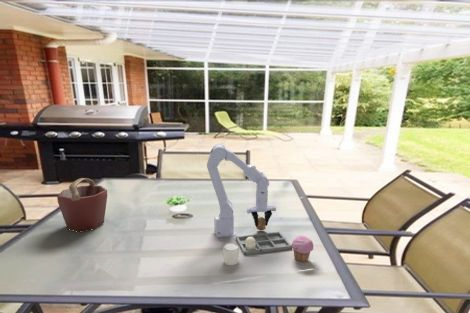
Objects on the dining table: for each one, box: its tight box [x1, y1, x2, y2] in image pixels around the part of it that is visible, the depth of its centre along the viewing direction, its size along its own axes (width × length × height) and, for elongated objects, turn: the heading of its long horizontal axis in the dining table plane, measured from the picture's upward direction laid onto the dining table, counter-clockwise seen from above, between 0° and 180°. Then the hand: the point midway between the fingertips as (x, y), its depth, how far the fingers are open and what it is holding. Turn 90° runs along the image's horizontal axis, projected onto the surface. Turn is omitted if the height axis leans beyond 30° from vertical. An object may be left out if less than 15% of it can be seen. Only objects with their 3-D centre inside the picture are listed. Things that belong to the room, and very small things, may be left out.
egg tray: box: [235, 231, 293, 256], centre depth 141 cm, size 22×15×2 cm
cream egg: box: [246, 237, 256, 251], centre depth 136 cm, size 4×4×6 cm
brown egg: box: [256, 216, 267, 231], centre depth 154 cm, size 4×4×6 cm
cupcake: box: [291, 235, 314, 263], centre depth 128 cm, size 9×9×10 cm
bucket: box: [56, 177, 108, 233], centre depth 160 cm, size 24×22×25 cm
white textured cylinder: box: [222, 242, 240, 266], centre depth 126 cm, size 7×7×7 cm
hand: (261, 225), depth 154 cm, fingers closed on brown egg, 4 cm apart
